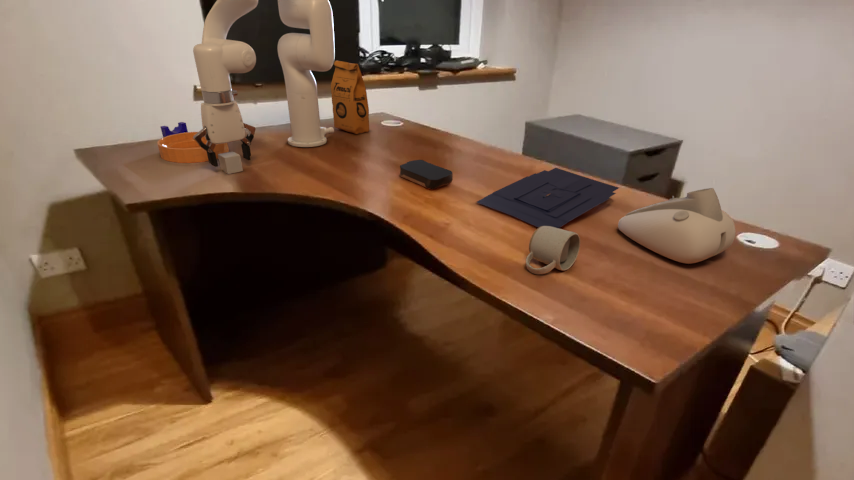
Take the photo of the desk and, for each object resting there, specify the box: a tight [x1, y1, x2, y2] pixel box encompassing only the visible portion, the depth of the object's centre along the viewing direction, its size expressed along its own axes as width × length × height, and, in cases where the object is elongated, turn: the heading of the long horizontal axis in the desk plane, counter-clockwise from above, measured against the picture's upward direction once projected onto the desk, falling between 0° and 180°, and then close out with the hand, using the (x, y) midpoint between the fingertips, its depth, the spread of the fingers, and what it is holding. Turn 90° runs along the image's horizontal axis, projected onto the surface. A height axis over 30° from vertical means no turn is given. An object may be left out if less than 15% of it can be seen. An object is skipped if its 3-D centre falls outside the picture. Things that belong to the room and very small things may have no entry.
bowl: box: [156, 131, 230, 164], centre depth 161 cm, size 19×19×4 cm
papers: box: [476, 167, 620, 229], centre depth 136 cm, size 24×30×4 cm
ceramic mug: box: [525, 226, 581, 275], centre depth 106 cm, size 11×8×8 cm
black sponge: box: [399, 159, 454, 190], centre depth 148 cm, size 16×8×4 cm, turn 40°
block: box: [218, 151, 244, 175], centre depth 150 cm, size 4×4×4 cm
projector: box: [617, 187, 737, 265], centre depth 113 cm, size 22×23×15 cm
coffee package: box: [330, 60, 370, 135], centre depth 185 cm, size 10×12×22 cm
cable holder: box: [160, 121, 189, 138], centre depth 177 cm, size 8×4×4 cm, turn 147°
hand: (231, 162), depth 150 cm, fingers open, 9 cm apart
